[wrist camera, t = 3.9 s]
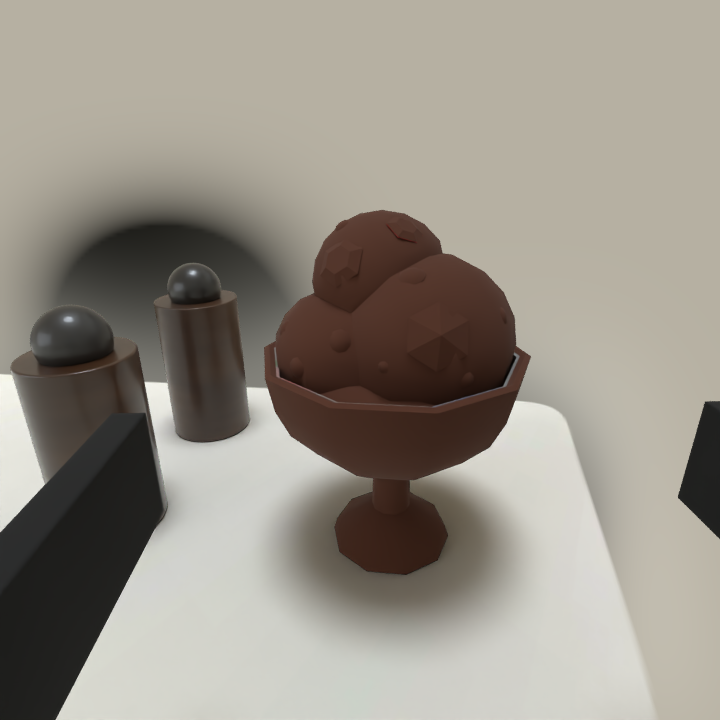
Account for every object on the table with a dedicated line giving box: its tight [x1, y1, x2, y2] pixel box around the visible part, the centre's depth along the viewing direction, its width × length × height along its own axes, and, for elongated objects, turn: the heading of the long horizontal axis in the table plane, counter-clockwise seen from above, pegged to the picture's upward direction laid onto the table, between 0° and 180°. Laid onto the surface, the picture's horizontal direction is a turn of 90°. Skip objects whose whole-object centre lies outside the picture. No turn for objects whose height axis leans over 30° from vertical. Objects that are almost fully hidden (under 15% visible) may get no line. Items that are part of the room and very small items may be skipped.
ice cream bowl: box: [264, 210, 531, 575], centre depth 21 cm, size 11×11×15 cm
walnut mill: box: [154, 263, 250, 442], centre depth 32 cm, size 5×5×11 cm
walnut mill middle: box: [11, 305, 167, 524], centre depth 23 cm, size 5×5×11 cm
